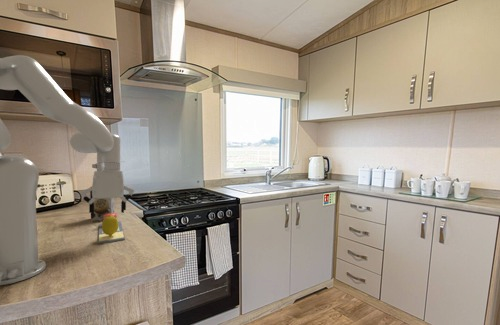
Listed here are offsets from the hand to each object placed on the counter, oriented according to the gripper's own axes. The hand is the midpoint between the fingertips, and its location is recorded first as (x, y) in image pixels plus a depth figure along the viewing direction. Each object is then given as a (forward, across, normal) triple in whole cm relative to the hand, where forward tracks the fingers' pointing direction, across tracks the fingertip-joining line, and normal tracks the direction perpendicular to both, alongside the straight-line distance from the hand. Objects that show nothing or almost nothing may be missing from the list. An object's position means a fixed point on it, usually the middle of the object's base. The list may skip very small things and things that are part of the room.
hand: (108, 213), depth 93 cm
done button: (+6, +1, +18) cm, 19 cm away
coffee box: (+9, -2, +34) cm, 35 cm away
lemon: (+9, +1, +1) cm, 9 cm away
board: (+9, +1, +9) cm, 13 cm away
